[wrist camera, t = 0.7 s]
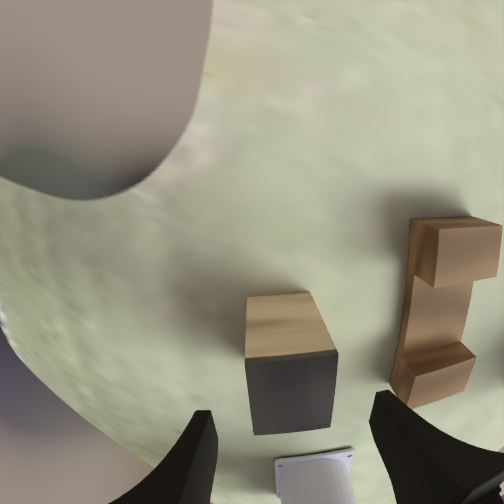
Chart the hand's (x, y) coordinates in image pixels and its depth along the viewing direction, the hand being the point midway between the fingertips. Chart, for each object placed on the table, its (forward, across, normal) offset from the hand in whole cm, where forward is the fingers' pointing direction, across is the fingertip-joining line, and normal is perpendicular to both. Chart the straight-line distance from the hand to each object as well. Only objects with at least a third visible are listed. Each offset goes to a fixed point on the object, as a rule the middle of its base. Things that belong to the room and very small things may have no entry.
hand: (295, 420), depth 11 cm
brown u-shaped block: (+8, -12, 0) cm, 15 cm away
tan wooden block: (+8, 0, 0) cm, 8 cm away
